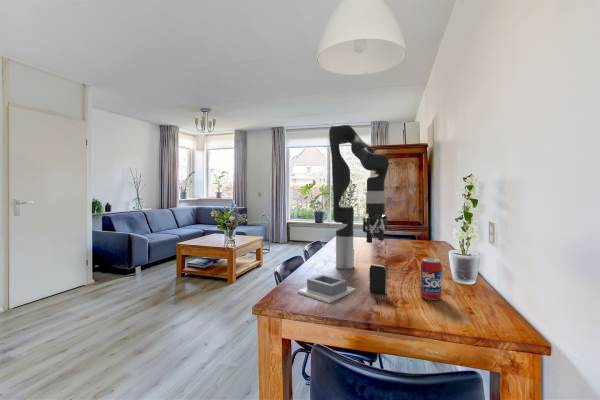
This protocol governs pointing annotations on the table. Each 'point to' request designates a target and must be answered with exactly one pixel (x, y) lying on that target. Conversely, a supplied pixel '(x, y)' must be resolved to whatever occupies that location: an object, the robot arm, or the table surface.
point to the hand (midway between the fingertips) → (375, 241)
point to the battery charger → (378, 278)
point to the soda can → (431, 279)
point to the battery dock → (325, 297)
